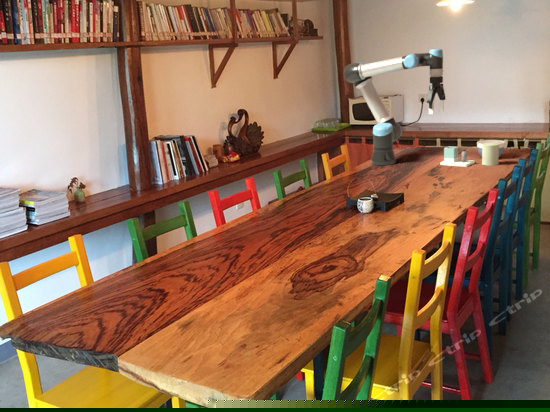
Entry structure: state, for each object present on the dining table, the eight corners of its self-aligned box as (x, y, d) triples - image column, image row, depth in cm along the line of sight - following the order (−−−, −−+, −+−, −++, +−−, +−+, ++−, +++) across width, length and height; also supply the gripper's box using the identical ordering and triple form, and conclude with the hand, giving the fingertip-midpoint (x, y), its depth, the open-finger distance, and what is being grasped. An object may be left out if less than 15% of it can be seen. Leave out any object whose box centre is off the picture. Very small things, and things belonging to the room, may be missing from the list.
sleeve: (444, 161, 371) (444, 148, 369) (448, 159, 376) (448, 146, 374) (453, 162, 368) (453, 148, 366) (458, 160, 372) (458, 146, 370)
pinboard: (440, 164, 370) (440, 152, 368) (448, 161, 379) (448, 148, 377) (466, 166, 360) (466, 153, 358) (474, 162, 369) (475, 150, 367)
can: (499, 165, 358) (500, 144, 355) (482, 165, 360) (483, 144, 357) (497, 162, 367) (498, 141, 364) (480, 162, 369) (481, 142, 366)
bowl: (508, 159, 373) (508, 143, 371) (481, 160, 374) (481, 144, 371) (499, 154, 389) (499, 139, 386) (473, 156, 389) (473, 140, 387)
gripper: (432, 77, 360) (432, 115, 365) (451, 74, 378) (451, 110, 384) (420, 78, 364) (420, 115, 370) (439, 74, 383) (439, 109, 388)
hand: (436, 112), depth 377 cm, fingers open, 13 cm apart
